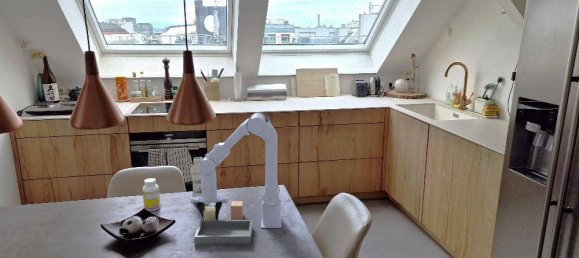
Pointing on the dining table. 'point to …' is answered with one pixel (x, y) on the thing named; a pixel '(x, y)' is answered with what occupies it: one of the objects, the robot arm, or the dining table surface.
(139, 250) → the dining table surface
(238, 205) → the terracotta block
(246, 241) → the slate tray
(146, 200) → the supplement bottle
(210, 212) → the beech block
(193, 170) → the plastic bottle
